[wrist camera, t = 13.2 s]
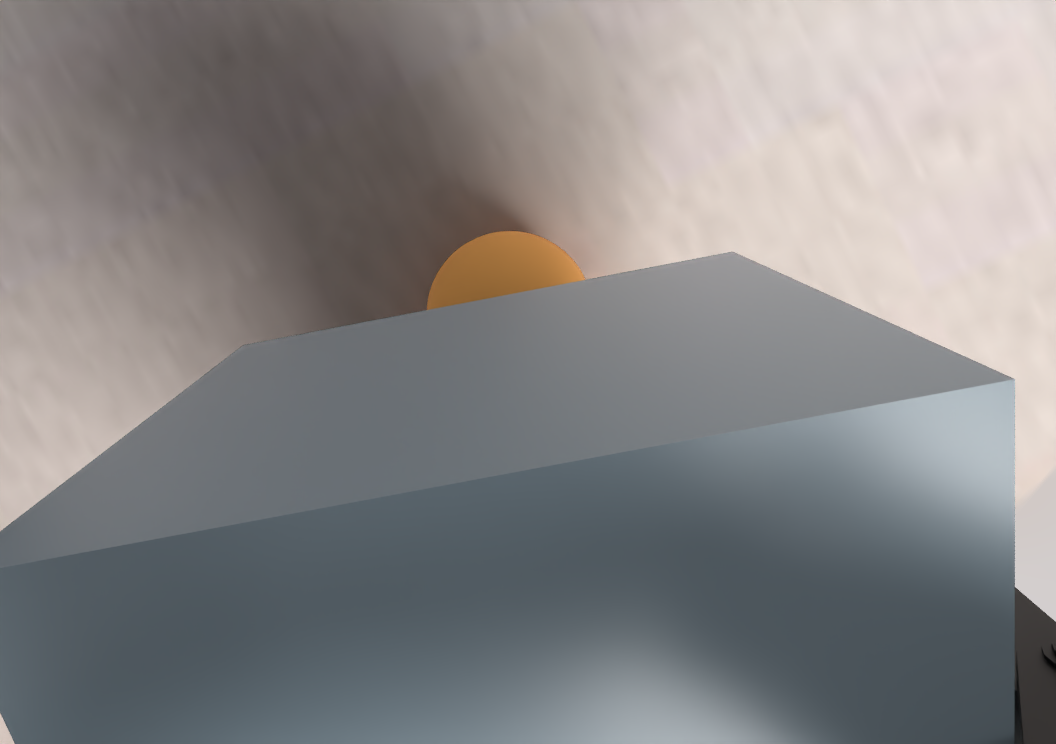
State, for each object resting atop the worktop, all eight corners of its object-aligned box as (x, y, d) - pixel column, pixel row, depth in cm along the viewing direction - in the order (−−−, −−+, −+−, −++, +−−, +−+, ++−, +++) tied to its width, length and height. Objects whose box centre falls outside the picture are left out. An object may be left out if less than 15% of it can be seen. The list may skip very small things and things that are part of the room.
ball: (401, 316, 19) (403, 228, 23) (459, 450, 22) (452, 352, 26) (589, 263, 19) (559, 182, 23) (622, 406, 22) (591, 313, 26)
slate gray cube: (364, 741, 18) (249, 1240, 10) (243, 345, 16) (-63, 579, 7) (777, 667, 18) (1014, 1114, 10) (732, 251, 15) (1014, 379, 7)
